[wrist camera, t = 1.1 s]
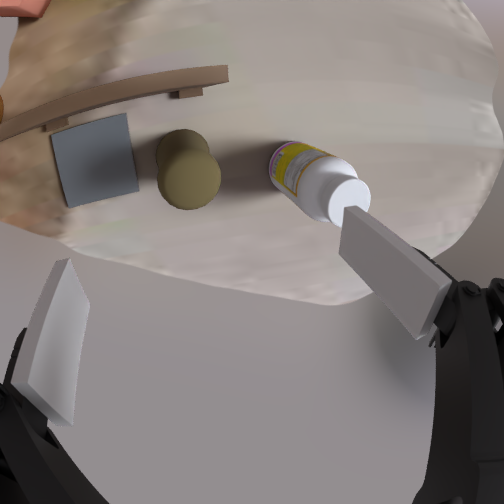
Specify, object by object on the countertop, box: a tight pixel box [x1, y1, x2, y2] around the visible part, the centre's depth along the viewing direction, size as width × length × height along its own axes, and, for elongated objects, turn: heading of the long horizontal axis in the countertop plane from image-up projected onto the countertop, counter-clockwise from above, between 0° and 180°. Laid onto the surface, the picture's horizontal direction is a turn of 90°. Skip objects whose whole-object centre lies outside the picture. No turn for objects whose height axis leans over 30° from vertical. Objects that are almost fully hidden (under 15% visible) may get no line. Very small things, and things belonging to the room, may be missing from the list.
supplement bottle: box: [269, 142, 370, 228], centre depth 29 cm, size 7×7×13 cm
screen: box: [0, 65, 229, 142], centre depth 19 cm, size 3×18×13 cm, turn 93°
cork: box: [156, 129, 221, 210], centre depth 25 cm, size 6×6×11 cm
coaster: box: [51, 113, 139, 208], centre depth 27 cm, size 9×9×1 cm
